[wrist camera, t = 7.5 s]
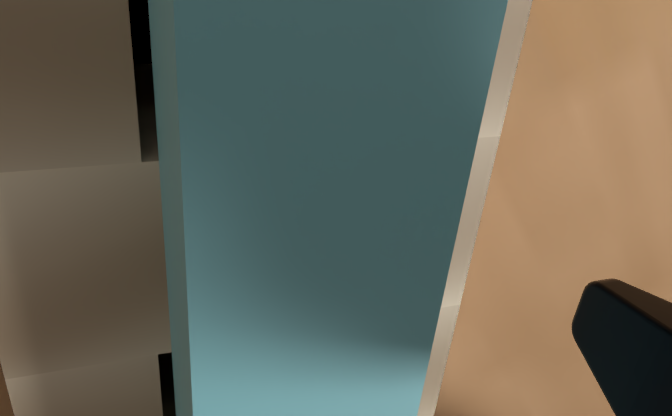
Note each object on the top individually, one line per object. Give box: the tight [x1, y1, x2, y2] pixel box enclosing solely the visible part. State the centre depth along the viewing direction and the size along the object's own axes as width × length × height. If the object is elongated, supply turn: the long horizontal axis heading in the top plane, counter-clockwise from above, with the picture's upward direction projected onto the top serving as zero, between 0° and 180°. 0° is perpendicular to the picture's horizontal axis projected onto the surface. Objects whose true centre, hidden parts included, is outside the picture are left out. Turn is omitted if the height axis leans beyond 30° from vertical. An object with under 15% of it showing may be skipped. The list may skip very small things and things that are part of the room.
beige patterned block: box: [0, 0, 533, 416], centre depth 12 cm, size 18×8×4 cm, turn 174°
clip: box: [148, 0, 508, 416], centre depth 10 cm, size 13×3×6 cm, turn 174°
